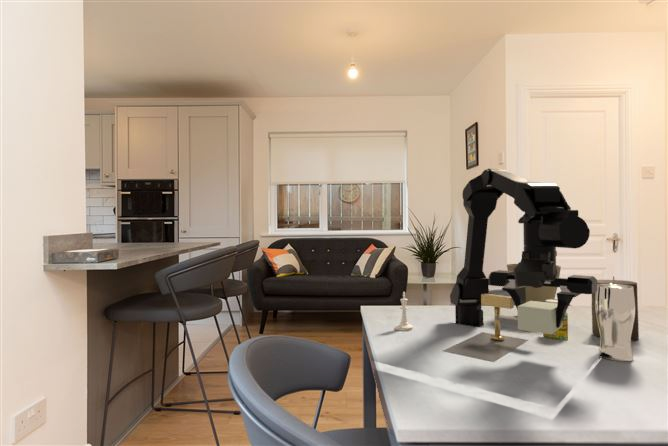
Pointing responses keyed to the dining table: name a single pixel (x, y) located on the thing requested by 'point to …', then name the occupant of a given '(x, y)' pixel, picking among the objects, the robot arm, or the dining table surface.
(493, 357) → the base
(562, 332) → the supplement bottle
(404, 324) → the chess piece
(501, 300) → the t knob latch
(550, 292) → the plant pot
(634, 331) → the pillar candle
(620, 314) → the silver metal tumbler
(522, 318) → the cover
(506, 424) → the dining table surface
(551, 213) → the robot arm
